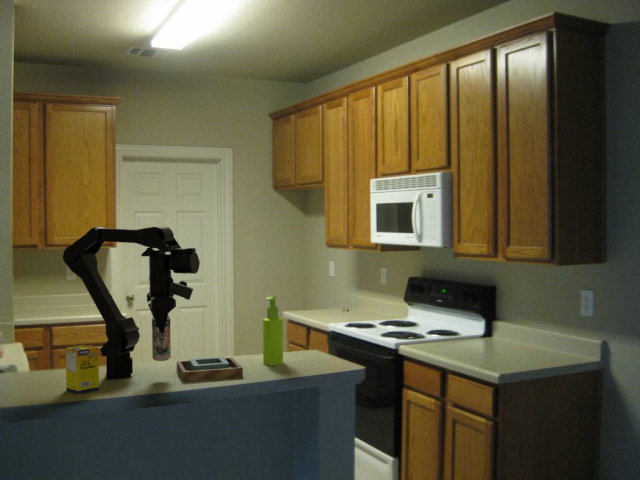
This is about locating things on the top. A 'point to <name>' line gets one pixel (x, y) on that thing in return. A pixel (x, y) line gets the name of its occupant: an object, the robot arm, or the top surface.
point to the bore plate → (208, 363)
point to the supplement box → (82, 369)
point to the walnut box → (209, 371)
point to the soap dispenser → (272, 335)
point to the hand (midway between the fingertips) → (161, 331)
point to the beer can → (161, 342)
